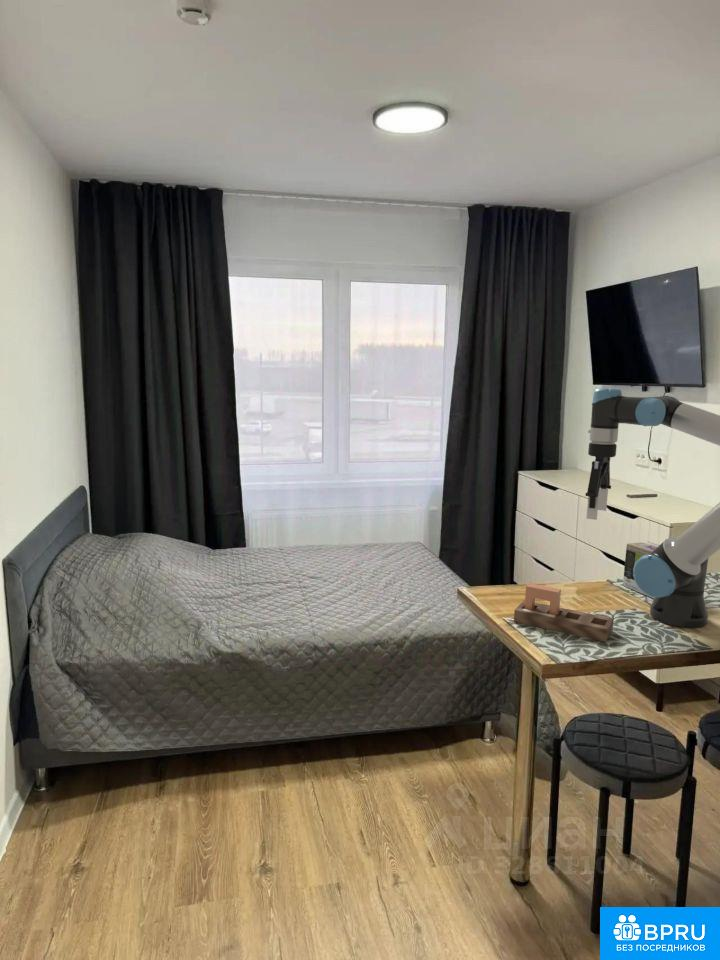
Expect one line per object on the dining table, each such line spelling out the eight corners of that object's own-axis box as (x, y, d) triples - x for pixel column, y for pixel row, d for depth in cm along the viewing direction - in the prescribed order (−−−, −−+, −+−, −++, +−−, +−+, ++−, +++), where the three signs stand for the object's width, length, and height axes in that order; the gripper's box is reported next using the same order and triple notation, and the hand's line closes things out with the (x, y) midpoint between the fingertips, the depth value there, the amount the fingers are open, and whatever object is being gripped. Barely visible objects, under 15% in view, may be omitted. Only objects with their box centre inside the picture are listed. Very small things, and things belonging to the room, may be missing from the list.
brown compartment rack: (612, 630, 182) (613, 617, 182) (606, 642, 175) (607, 628, 174) (523, 611, 195) (524, 599, 194) (513, 621, 187) (514, 609, 186)
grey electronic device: (680, 597, 209) (686, 552, 207) (656, 601, 206) (661, 555, 203) (644, 582, 223) (649, 540, 220) (621, 585, 219) (625, 542, 217)
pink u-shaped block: (558, 623, 187) (560, 589, 185) (555, 626, 184) (558, 592, 182) (526, 616, 191) (529, 583, 189) (523, 619, 189) (526, 586, 187)
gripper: (598, 437, 203) (592, 505, 207) (579, 445, 182) (573, 520, 185) (624, 439, 199) (617, 508, 203) (608, 448, 178) (601, 524, 182)
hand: (596, 514), depth 194 cm, fingers open, 13 cm apart
